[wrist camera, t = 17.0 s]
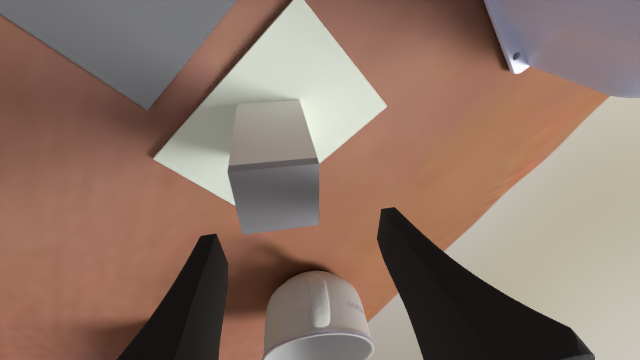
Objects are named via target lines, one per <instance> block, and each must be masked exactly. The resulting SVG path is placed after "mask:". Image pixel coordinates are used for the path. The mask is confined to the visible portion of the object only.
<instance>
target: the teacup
mask: <svg viewBox="0 0 640 360" xmlns="http://www.w3.org/2000/svg"><path fill="white" fill-rule="evenodd" d="M373 352H374V344H373V341H372V340H371V337H370V333H369V329H368V325H367V321H366V317H365V314H364V310H363V307H362V303H361V301H360V298H359V296H358V293H357V292H356V290H355V288H354V287H353V286H352V285H351V284H350V283H349V282H347V281H346V280H344V279H342V278H340V277H338V276H336V275H334V274H332V273H329V272H325V271H308V272H304V273H300V274H298V275H295V276H293V277H292V278H290V279H289V280H287V281H286V282H285V283H284V284H282V285H281V286H280V287H279V288H278V289H277V290H276V291H275V292H274V293H273V295H272V296H271V298H270V300H269V303H268V306H267V312H266V321H265V336H264V355H263V358H262V360H367V359H368V358H369V357H370V356H371V355H372V353H373Z"/></svg>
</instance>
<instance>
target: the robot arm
mask: <svg viewBox="0 0 640 360" xmlns="http://www.w3.org/2000/svg"><path fill="white" fill-rule="evenodd" d="M483 1H484V3H485V6H486V8H487V11H488V14H489V16H490V19H491V22H492V24H493V27H494V30H495V32H496V35H497V38H498V40H499V43H500V46H501V48H502V51H503V53H504V56H505V59H506V61H507V64H508V67H509V69H510V71H511V72H512V73H514V74H519V73H521V72H522V71H524V70H525V69H526V68H528V67H529V66H532V67H534V68H537V69H540V70H542V71H545V72H548V73H550V74H553V75H555V76H558V77H561V78H563V79H566V80H569V81H571V82H574V83H576V84H579V85H582V86H584V87H587V88H589V89H592V90H595V91H597V92H600V93H603V94H606V95H610V96H617V97H626V98H640V0H483ZM515 53H516V55H515V56H514V57H513V55H514V54H515ZM377 241H378V244H379V247H380V250H381V253H382V256H383V259H384V262H385V264H386V266H387V268H388V271H389V273H390V275H391V277H392V279H393V281H394V284H395V286H396V288H397V290H398V292H399V294H400V296H401V299H402V301H403V303H404V305H405V308H406V310H407V312H408V315H409V318H410V320H411V323H412V326H413V329H414V332H415V334H416V338H417V341H418V343H419V347H420V349H421V353H422V355H423V359H424V360H595V356H594V355H593V353H592V352H591V351H590V350H589V349H588V348H587V346H586V345H585V344H584V343H583V342H582V340H581V339H580V338H579V337H578V336H577V335H576V334H575V332H574V331H573V330H572V329H571V328H569V327H567V326H565V325H563V324H561V323H559V322H557V321H555V320H553V319H551V318H549V317H547V316H545V315H543V314H541V313H539V312H537V311H535V310H533V309H531V308H529V307H527V306H525V305H523V304H522V303H520V302H518V301H516V300H514V299H513V298H511V297H509V296H507V295H505V294H504V293H502V292H500V291H499V290H497V289H496V288H494V287H492V286H491V285H489V284H487V283H486V282H484V281H483V280H481V279H480V278H478V277H477V276H475V275H474V274H472V273H471V272H469V271H468V270H467V269H465V268H464V267H462V266H461V265H460V264H458V263H457V262H456V261H454V260H453V259H452V258H450V257H449V256H448V255H447V254H446V253H444V252H443V251H442V250H441V249H439V248H438V247H437V246H436V245H435V244H434V243H432V242H431V241H430V240H429V239H428V238H427V237H426V236H425V235H423V234H422V233H421V232H420V231H419V230H418V229H417V228H416V227H415V226H414V225H413V224H412V223H411V222H409V221H408V220H407V219H406V218H405V217H404V216H403V215H402V214H401V213H400V212H399V211H398V210H397V209H396V208H395V207H392V208H385V209H381V215H380V222H379V229H378V235H377ZM227 286H228V262H227V259H226V257H225V254H224V252H223V249H222V247H221V244H220V242H219V239H218V237H217V234H211V235H204V236H201V237H200V238H199V240H198V242H197V244H196V245H195V247H194V249H193V251H192V253H191V255H190V256H189V258H188V260H187V262H186V263H185V265H184V267H183V269H182V270H181V272H180V274H179V275H178V277H177V279H176V280H175V282H174V283H173V285H172V287H171V288H170V290H169V291H168V293H167V294H166V296H165V297H164V299H163V300H162V302H161V303H160V305H159V306H158V308H157V309H156V310H155V312H154V313H153V315H152V316H151V317H150V319H149V320H148V321H147V323H146V324H145V325H144V327H143V328H142V329H141V331H140V332H139V333H138V334H137V336H136V337H135V338H134V339H133V341H132V342H131V343H130V344H129V345H128V347H127V348H126V349H125V350H124V351H123V353H122V354H121V355H120V356H119V357H118V358H117V360H218V358H219V345H220V337H221V330H222V323H223V316H224V309H225V301H226V294H227Z"/></svg>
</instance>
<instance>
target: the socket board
mask: <svg viewBox="0 0 640 360" xmlns="http://www.w3.org/2000/svg"><path fill="white" fill-rule="evenodd" d="M236 1H237V0H0V14H1V15H3V16H4V17H6V18H7V19H9V20H10V21H12V22H13V23H15V24H16V25H18V26H20V27H21V28H23V29H24V30H26V31H27V32H29V33H30V34H32V35H33V36H35V37H36V38H38V39H39V40H41V41H42V42H44V43H45V44H47V45H48V46H50V47H51V48H53V49H54V50H56V51H58V52H59V53H61V54H62V55H64V56H65V57H67V58H68V59H70V60H71V61H73V62H74V63H76V64H77V65H79V66H80V67H82V68H83V69H85V70H86V71H88V72H89V73H91V74H92V75H94V76H96V77H97V78H99V79H100V80H102V81H103V82H105V83H106V84H108V85H109V86H111V87H112V88H114V89H115V90H117V91H118V92H120V93H121V94H123V95H124V96H126V97H127V98H129V99H130V100H132V101H134V102H135V103H137V104H138V105H140V106H141V107H143V108H144V109H146V110H147V111H148V110H149V108H150V107H151V106H152V105H153V104H154V102H155V101H156V100H157V99H158V97H159V96H160V95H161V94H162V92H163V91H164V90H165V89H166V87H167V86H168V85H169V84H170V82H171V81H172V80H173V79H174V77H175V76H176V75H177V74H178V72H179V71H180V70H181V69H182V68H183V66H184V65H185V64H186V63H187V61H188V60H189V59H190V58H191V56H192V55H193V54H194V53H195V51H196V50H197V49H198V48H199V46H200V45H201V44H202V43H203V41H204V40H205V39H206V38H207V36H208V35H209V34H210V33H211V32H212V30H213V29H214V28H215V27H216V25H217V24H218V23H219V22H220V20H221V19H222V18H223V17H224V15H225V14H226V13H227V12H228V10H229V9H230V8H231V7H232V5H233V4H234V3H235V2H236Z"/></svg>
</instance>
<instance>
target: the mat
mask: <svg viewBox="0 0 640 360" xmlns="http://www.w3.org/2000/svg"><path fill="white" fill-rule="evenodd" d="M284 100H300V103H301V106H302V109H303V112H304V116H305V119H306V122H307V125H308V129H309V132H310V135H311V138H312V142H313V145H314V148H315V151H316V155H317V158H318V161H319V164H320V163H321V162H322V161H323V160H324V159H326V158H327V157H328V156H329V155H330V154H331V153H333V152H334V151H335V150H336V149H337V148H339V147H340V146H341V145H342V144H343V143H345V142H346V141H347V140H348V139H349V138H350V137H352V136H353V135H354V134H355V133H356V132H358V131H359V130H360V129H361V128H362V127H363V126H365V125H366V124H367V123H368V122H369V121H371V120H372V119H373V118H374V117H375V116H376V115H378V114H379V113H380V112H381V111H382V110H384V109H385V108H386V107H387V105H386V104H385V103H384V102H383V100H382V99H381V98H380V96H379V95H378V94H377V93H376V91H375V90H374V89H373V87H372V86H371V85H370V84H369V82H368V81H367V80H366V79H365V77H364V76H363V75H362V73H361V72H360V71H359V70H358V68H357V67H356V66H355V65H354V63H353V62H352V61H351V59H350V58H349V57H348V56H347V54H346V53H345V52H344V50H343V49H342V48H341V47H340V45H339V44H338V43H337V42H336V40H335V39H334V38H333V36H332V35H331V34H330V33H329V31H328V30H327V29H326V28H325V26H324V25H323V24H322V22H321V21H320V20H319V19H318V17H317V16H316V15H315V14H314V12H313V11H312V10H311V8H310V7H309V6H308V5H307V3H306V2H305V1H304V0H292V1H291V2H290V3H289V4H288V5H287V7H286V8H285V9H284V10H283V11H282V12H281V13H280V15H279V16H278V17H277V18H276V19H275V20H274V21H273V22H272V24H271V25H270V26H269V27H268V28H267V29H266V30H265V32H264V33H263V34H262V35H261V36H260V37H259V38H258V39H257V41H256V42H255V43H254V44H253V45H252V46H251V47H250V49H249V50H248V51H247V52H246V53H245V54H244V55H243V56H242V58H241V59H240V60H239V61H238V62H237V63H236V64H235V66H234V67H233V68H232V69H231V70H230V71H229V72H228V73H227V75H226V76H225V77H224V78H223V79H222V80H221V81H220V83H219V84H218V85H217V86H216V87H215V88H214V89H213V91H212V92H211V93H210V94H209V95H208V96H207V97H206V98H205V100H204V101H203V102H202V103H201V104H200V105H199V106H198V108H197V109H196V110H195V111H194V112H193V113H192V114H191V115H190V117H189V118H188V119H187V120H186V121H185V122H184V123H183V125H182V126H181V127H180V128H179V129H178V130H177V131H176V132H175V134H174V135H173V136H172V137H171V138H170V139H169V140H168V142H167V143H166V144H165V145H164V146H163V147H162V148H161V149H160V151H159V152H158V153H157V154H156V155H155V157H154V158H153V159H154V160H156V161H157V162H159V163H161V164H163V165H164V166H166V167H168V168H170V169H171V170H173V171H175V172H177V173H179V174H180V175H182V176H184V177H186V178H187V179H189V180H191V181H193V182H194V183H196V184H198V185H200V186H201V187H203V188H205V189H207V190H208V191H210V192H212V193H214V194H215V195H217V196H219V197H221V198H223V199H224V200H226V201H228V202H230V203H231V204H233V205H235V201H234V197H233V193H232V189H231V185H230V181H229V177H228V173H227V171H228V164H229V157H230V150H231V143H232V136H233V129H234V122H235V115H236V107H237V103H252V102H268V101H284ZM235 206H236V205H235Z"/></svg>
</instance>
